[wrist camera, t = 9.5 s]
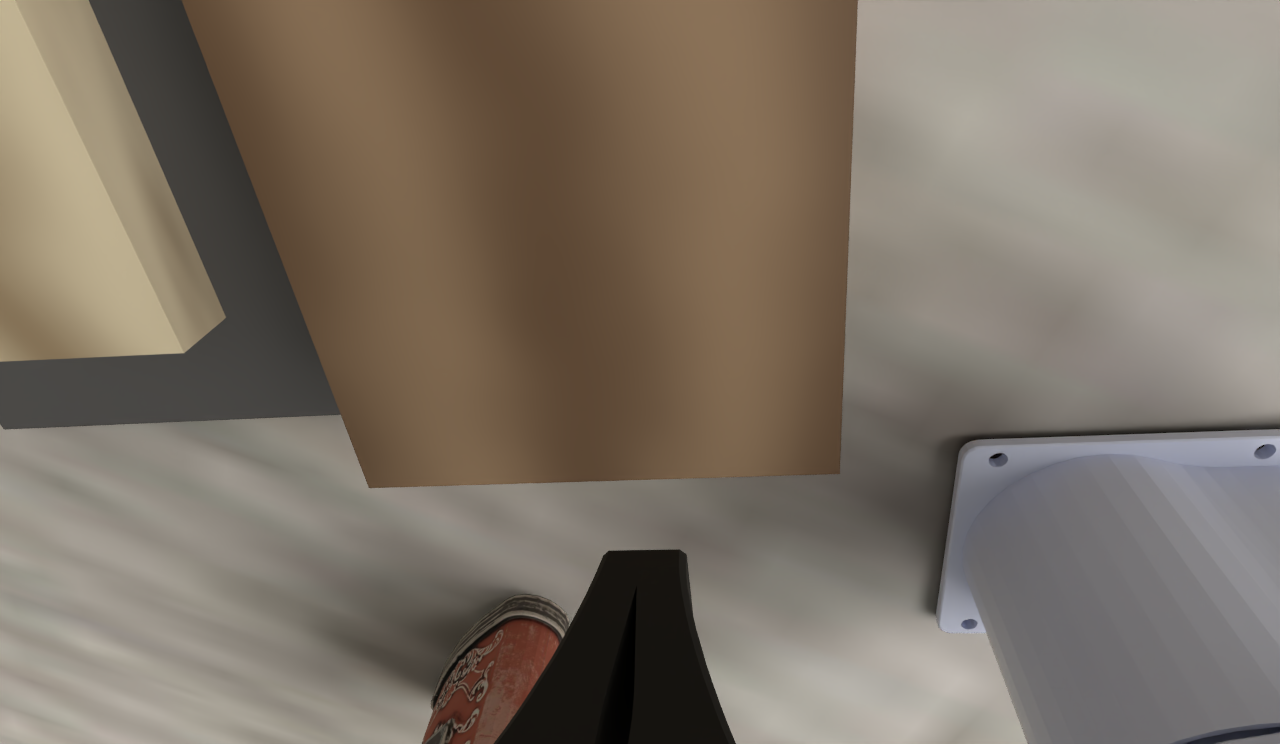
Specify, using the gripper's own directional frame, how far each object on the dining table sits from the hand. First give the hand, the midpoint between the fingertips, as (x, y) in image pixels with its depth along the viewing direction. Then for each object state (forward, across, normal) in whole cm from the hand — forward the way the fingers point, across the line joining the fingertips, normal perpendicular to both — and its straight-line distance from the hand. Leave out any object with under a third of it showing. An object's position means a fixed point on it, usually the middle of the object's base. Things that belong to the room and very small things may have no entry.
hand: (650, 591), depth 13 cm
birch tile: (+7, +16, -6) cm, 18 cm away
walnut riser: (+9, +2, -6) cm, 11 cm away
